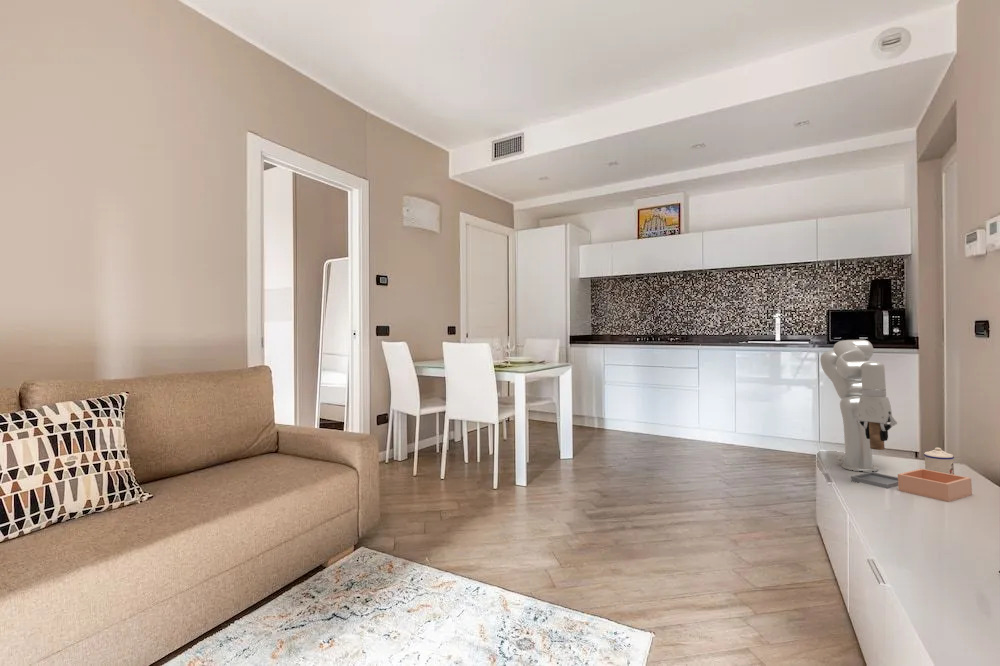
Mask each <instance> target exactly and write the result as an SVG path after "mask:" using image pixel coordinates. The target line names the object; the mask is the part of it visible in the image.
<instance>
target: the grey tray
mask: <svg viewBox="0 0 1000 666" xmlns="http://www.w3.org/2000/svg"><path fill="white" fill-rule="evenodd" d="M850 481H851V482H852V481H853V483H856V482H857V484H860V483H863V484H867V485H871V486H875V487H879V488H884V489H891V488H895V487H898V476H893V475H890V474H889V475H888V474H883V473H878V472H875V471H874V472H864V473H859V474H855V475H851V476H850Z"/></svg>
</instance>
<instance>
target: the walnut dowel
mask: <svg viewBox="0 0 1000 666" xmlns="http://www.w3.org/2000/svg"><path fill="white" fill-rule="evenodd" d="M880 431H882V429H881V426H880V423H873V422H869V437H870V448H871V449H872V450H878V451H883V450H885V449H886V448H885V441H881V437H880Z"/></svg>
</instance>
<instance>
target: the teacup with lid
mask: <svg viewBox="0 0 1000 666" xmlns="http://www.w3.org/2000/svg"><path fill="white" fill-rule="evenodd" d="M923 456H924V469H926V470H931V471H937V472H942V473H947V474H953V475H955V466H954V464H955V463H954V459H955V457H954V455H953V454H952V453H948V452H946V451H945V450H942V448H941V447H935V448H934V449H933V450H930V451H925V452H924V453H923Z"/></svg>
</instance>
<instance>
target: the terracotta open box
mask: <svg viewBox="0 0 1000 666" xmlns="http://www.w3.org/2000/svg"><path fill="white" fill-rule="evenodd" d="M897 477H898V486H897V487H898V489H897V490H898V491H899V492H905V493H908V494H913V495H918V496H922V497H927V498H931V499H934V500H939V501H944V502H947V503H950V502H953V501H955V500H960V499H962V498H966V497H969V496H972V495H973V488H972V486H973V485H972V478H971V477H968V476H962V475H956V474H954V475H953V474H947V473H942V472H937V471H931V470H926V469H925V468H918V469H914V470H909V471H904V472H901V473H898V474H897Z"/></svg>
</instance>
